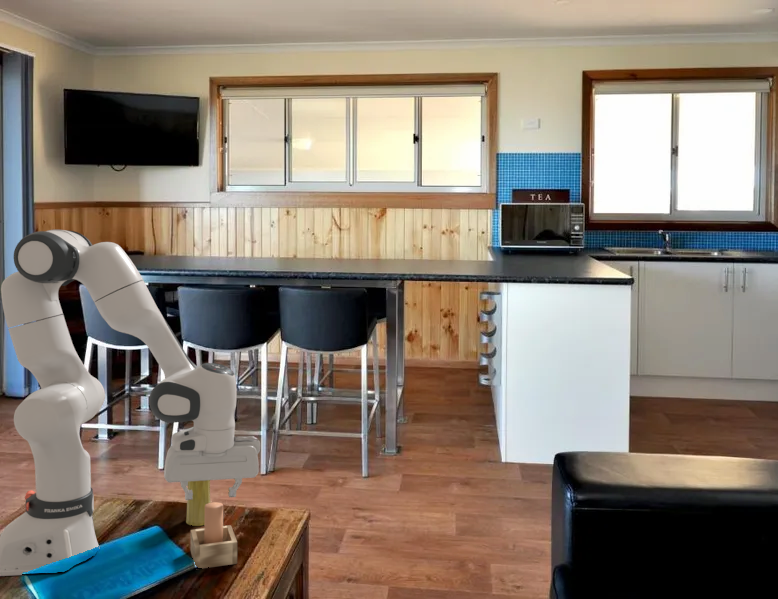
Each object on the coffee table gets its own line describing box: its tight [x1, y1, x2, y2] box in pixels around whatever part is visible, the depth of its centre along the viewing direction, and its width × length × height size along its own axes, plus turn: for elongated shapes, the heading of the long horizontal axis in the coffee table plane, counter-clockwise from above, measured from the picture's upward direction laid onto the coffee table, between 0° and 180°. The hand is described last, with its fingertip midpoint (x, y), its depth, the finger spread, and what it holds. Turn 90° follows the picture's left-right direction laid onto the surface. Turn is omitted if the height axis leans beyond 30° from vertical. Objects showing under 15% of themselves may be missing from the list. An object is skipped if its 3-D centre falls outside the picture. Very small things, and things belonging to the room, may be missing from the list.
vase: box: [185, 480, 211, 527], centre depth 178 cm, size 6×6×14 cm
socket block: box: [190, 524, 238, 569], centre depth 160 cm, size 9×9×5 cm
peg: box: [203, 501, 224, 544], centre depth 160 cm, size 4×4×12 cm
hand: (210, 497), depth 159 cm, fingers open, 8 cm apart
